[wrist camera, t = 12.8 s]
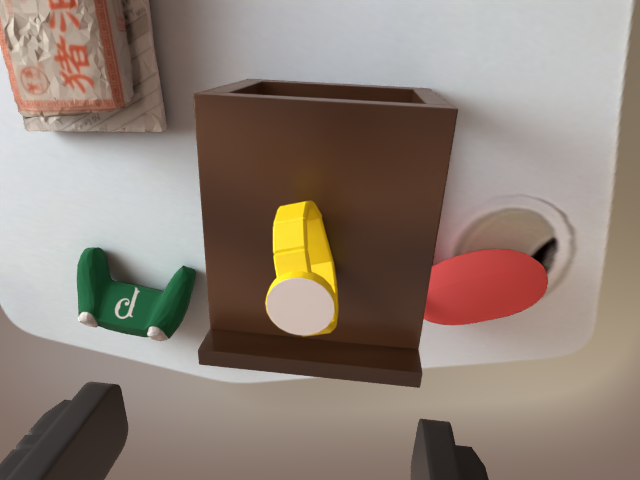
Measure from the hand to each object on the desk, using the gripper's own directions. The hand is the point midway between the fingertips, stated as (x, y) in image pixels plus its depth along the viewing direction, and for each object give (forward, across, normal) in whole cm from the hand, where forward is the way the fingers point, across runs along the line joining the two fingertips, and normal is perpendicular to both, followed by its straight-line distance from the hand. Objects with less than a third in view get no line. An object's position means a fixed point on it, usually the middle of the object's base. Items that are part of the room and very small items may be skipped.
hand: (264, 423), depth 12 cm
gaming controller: (+22, +15, +10) cm, 29 cm away
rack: (+22, 0, 0) cm, 22 cm away
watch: (+12, 0, 0) cm, 12 cm away
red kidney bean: (+22, -11, +6) cm, 25 cm away
